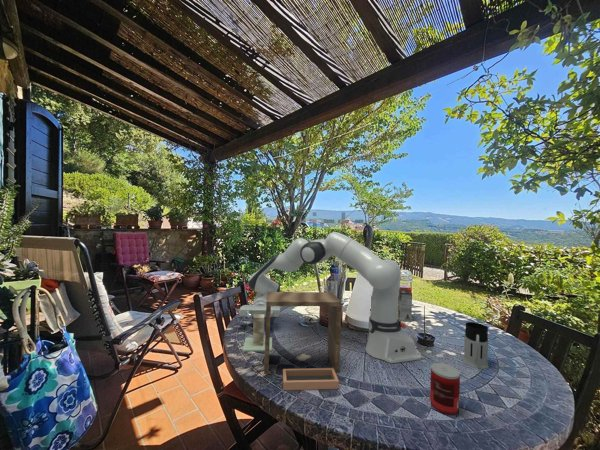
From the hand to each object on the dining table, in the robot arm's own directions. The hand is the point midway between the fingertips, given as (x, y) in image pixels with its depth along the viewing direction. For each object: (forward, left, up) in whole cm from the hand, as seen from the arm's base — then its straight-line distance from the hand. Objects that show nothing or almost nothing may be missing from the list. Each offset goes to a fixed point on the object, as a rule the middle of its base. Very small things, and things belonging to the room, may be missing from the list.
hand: (259, 316), depth 126 cm
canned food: (-58, +52, -9) cm, 78 cm away
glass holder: (-86, +30, -9) cm, 92 cm away
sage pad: (0, +10, -9) cm, 13 cm away
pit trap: (-19, +38, -9) cm, 44 cm away
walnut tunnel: (-17, +26, -9) cm, 32 cm away
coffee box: (-83, -22, -9) cm, 87 cm away
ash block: (0, +10, -8) cm, 13 cm away
